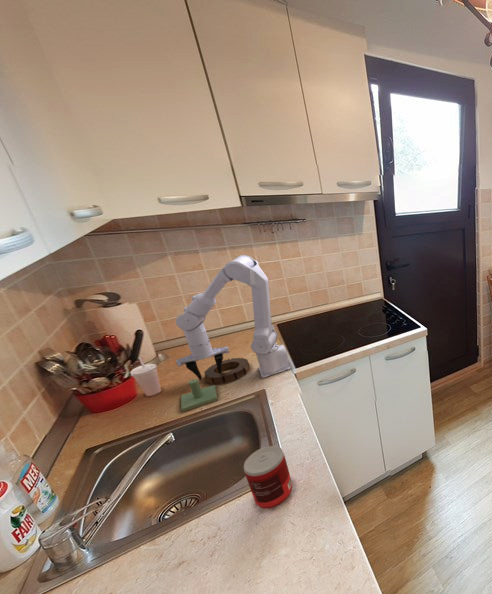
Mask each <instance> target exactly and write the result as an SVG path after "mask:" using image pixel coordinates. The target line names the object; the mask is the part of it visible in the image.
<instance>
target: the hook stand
mask: <svg viewBox="0 0 492 594" xmlns="http://www.w3.org/2000/svg"><path fill="white" fill-rule="evenodd" d="M188 386H189V388H190V391H191V392H188V393H185V394H182V395H180V402H181V403H180V411H181V412H182V413H183V412H187V411H189V410H193V409H196V408H200V407H202V406H205V405H208V404H210V403H214V402H216V401H218V394H217V388H216V384H212V385H210V386H207V387H203V388H202V387H201V384H200V381H199V378H194V379H191V380H189V381H188Z"/></svg>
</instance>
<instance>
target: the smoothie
mask: <svg viewBox="0 0 492 594" xmlns="http://www.w3.org/2000/svg"><path fill="white" fill-rule="evenodd" d="M138 361H139V362H140V364H141V365H139V366H136V367H135V368H133V369H132V370H131V371H130V372H129V373H130V377H132V378H134V380H135V381H136V383H137V384H138V385H139V387H140V388H141V390H142V391H143V392H144V394H145V396H146V397H152V396H155V395H157V394H160V392H161V391H162V389H161V384H160V379H159V374H158V371H157V369H158V366H157V364H155V363H146V364H145V363H144V361H143V359H142V357H141V356H139V357H138Z"/></svg>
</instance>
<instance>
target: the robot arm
mask: <svg viewBox="0 0 492 594" xmlns="http://www.w3.org/2000/svg"><path fill="white" fill-rule="evenodd" d="M232 281H237V282H240V283H243V284H246V285H247V286H249V287H250V288H251V297H252V298H251V299H252V312H253V321H254V322H253V323H254V331H253V336H252V337H253V338H252V339H253V340H252V342H251V344H250V348H251V351H252V352H253V353H255V356H256V359H257V362H258V365H259V367H258V371H259V373H260V374H259V375H260V376H261V378H267V377H270V376H273V375H276V374H279V373H282V372H284V371H288V370H290V369H291V365H290V360H289V356H288V353H287V350H286V346H285V345H284V344H278V343H277V340H278V335H279V334H278V333H277V332H276V330H275V325H273V324H272V310H271V298H270V297H271V296H270V284H269V283H270V282H269V278H268V276H267V275H266V274H265V273H264V271H263V269H262V268H261V267H260V264H259V262H258V260H256V259H254V258H253V257H252V256H249V255H245V254H242V255H238V256H236V258H235V259H233V260H231V261H228V262H227V263H226V264H225V266H223V267H222V268H221V269H220V270H219V271H218V272H217V274H216V275H215V277H213V280H212V281H211V282H210V284H209V285H208V287H207V288H206V289H205V291H204V292H200V293H197V294H194V295H193V296H192V297H191V298H190V300H192V301H191V302H190V303H189V304H188V306H186V307H184V308H183V311H184V312H183V313H181V314H179V315H178V316H177V317H176V319H175V325H176V326H177V327H178V328H179V329H180V330H182V331H183V335H184V337H185V339H186V343H187V346H188V348H189V351H190V354H189V355H186V356H184V357H181V358H178V359H176V360H175V364H176V366H177V368H179V367H182V366H184V365H185V366H186V369H187V370H189V371H191V372H192V374H194V375H195V376H196V377H197V379H198V381H201V380H203V376H202V373H201V372H200V369H199V367H198V364H197V362H198V361H202V360H206V359H208V358H209V359H210V358H212V357H213V358H214V361H215V364H217V367H218V372H219V373H222V372H221V364H222V361H224V354H229V353H230V350H229V346H222V347H215V348H213V347H212V344H211V342H210V338H209V335H208V332H207V329H206V326H205V323H204V322H205V320H206V317H207V315H209V313H210V312H211V311H212V309H213V308H214V306H215V305H216V303H217V299H216V297H217V295H218V294H219V293H220V292H221V290H223V288H224V287H225V286H226V285H227V283H229V282H232Z"/></svg>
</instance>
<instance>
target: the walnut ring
mask: <svg viewBox="0 0 492 594" xmlns="http://www.w3.org/2000/svg"><path fill="white" fill-rule="evenodd" d="M230 369H231V370H230ZM227 370H228V371H227ZM250 370H251V366H250V363H249V360H248V359H247V358H244V357H234V358H228V359H223V360H222V364H221V373H219V372H218V367H217V364H216V363H214V364H212V365H210V366H209V367H207V369H206V370H205V371H204V377H205V381H206V382H207V383H208V384H210V385H222V384H223V385H224V384H225V383H226V384H227V383H231V382H233V381H236V380H239V379H241V378H242V377H244V376H246V375H247V374H248V373H249V372H250ZM224 371H226V372H224Z"/></svg>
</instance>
